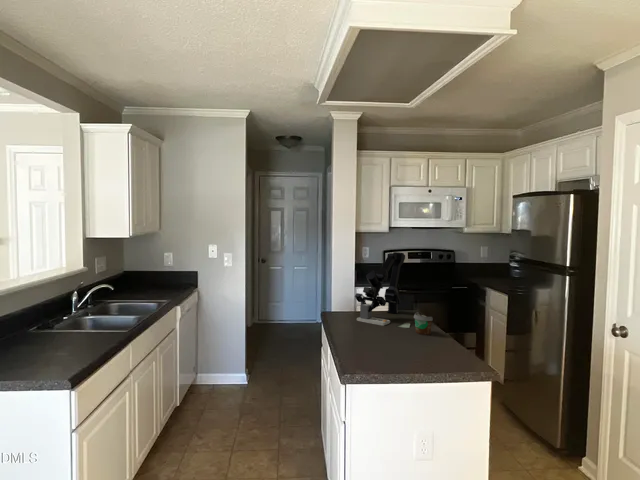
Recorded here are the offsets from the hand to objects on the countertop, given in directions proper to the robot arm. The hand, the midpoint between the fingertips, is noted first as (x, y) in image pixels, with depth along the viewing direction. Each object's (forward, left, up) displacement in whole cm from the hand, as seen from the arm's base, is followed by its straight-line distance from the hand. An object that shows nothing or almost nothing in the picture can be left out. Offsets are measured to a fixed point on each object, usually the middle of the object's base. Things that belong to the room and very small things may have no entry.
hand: (364, 311), depth 258 cm
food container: (+13, +33, -7) cm, 36 cm away
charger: (-1, +1, -6) cm, 6 cm away
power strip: (0, +5, -7) cm, 8 cm away
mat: (0, +22, -7) cm, 23 cm away
